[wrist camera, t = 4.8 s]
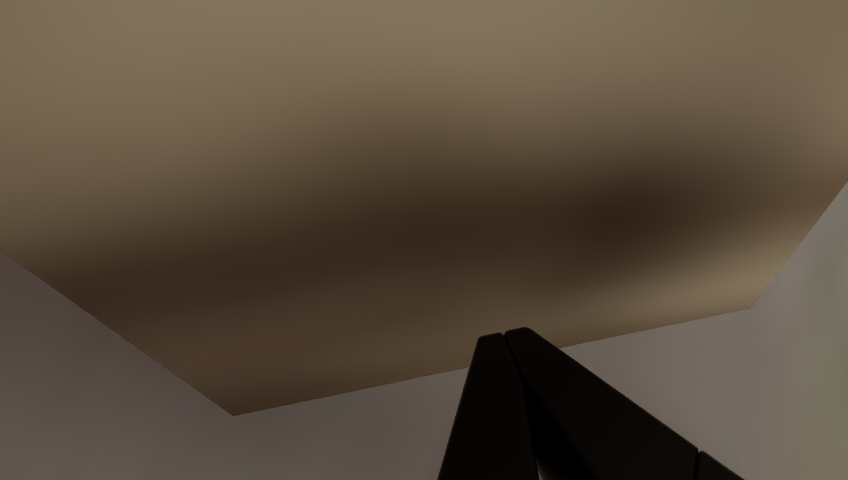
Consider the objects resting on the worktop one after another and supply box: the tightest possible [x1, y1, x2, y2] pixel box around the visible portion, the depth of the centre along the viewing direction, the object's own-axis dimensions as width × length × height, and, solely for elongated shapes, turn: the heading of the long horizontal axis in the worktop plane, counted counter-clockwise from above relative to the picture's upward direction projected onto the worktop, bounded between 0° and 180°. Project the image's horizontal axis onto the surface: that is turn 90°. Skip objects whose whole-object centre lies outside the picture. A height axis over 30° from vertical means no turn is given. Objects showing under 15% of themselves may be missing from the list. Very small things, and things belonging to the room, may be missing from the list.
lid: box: [0, 0, 848, 416], centre depth 10 cm, size 12×14×1 cm
